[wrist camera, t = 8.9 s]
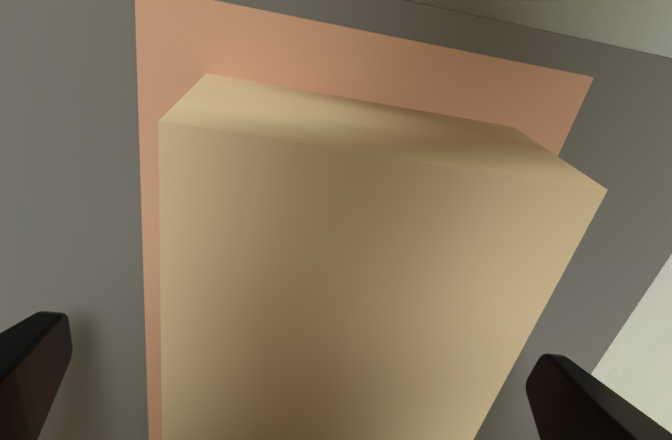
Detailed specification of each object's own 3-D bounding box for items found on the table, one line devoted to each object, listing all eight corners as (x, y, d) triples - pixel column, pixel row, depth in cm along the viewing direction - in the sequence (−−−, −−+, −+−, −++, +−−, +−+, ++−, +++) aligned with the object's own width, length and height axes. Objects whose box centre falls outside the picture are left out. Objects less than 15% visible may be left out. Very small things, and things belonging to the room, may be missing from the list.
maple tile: (513, 126, 7) (608, 189, 5) (385, 453, 11) (405, 564, 9) (206, 72, 6) (158, 120, 4) (191, 445, 11) (163, 566, 8)
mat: (432, 584, 17) (437, 606, 16) (55, 588, 15) (45, 614, 14) (752, 76, 8) (791, 83, 7) (-132, -116, 6) (-185, -129, 5)
